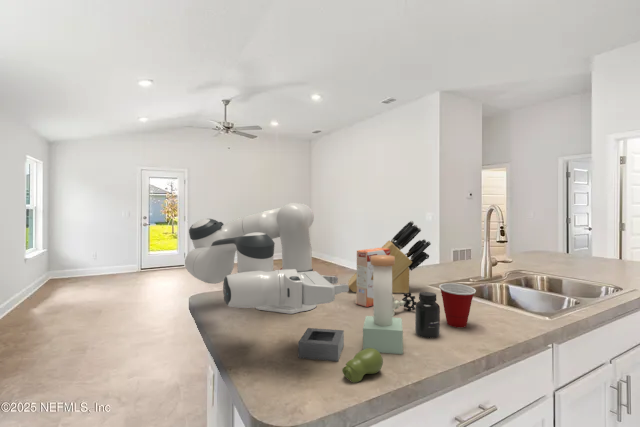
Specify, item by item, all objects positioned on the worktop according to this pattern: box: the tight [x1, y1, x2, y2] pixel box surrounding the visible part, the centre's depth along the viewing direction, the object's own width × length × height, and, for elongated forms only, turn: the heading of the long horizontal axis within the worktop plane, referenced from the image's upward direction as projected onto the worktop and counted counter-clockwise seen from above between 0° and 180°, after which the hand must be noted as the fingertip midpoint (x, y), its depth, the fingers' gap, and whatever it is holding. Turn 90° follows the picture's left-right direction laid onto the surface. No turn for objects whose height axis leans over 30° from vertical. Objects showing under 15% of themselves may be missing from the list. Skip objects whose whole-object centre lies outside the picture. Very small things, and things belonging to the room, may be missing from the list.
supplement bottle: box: [414, 291, 441, 339], centre depth 99 cm, size 7×7×12 cm
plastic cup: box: [438, 282, 477, 329], centre depth 107 cm, size 11×11×12 cm
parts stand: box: [362, 315, 404, 355], centre depth 92 cm, size 10×10×6 cm
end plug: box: [371, 255, 395, 326], centre depth 92 cm, size 6×6×18 cm
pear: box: [342, 348, 384, 383], centre depth 76 cm, size 6×5×10 cm
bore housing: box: [297, 327, 345, 362], centre depth 89 cm, size 10×10×4 cm
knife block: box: [347, 220, 432, 294], centre depth 150 cm, size 11×35×31 cm, turn 85°
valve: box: [392, 292, 418, 317], centre depth 119 cm, size 7×7×12 cm
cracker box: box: [356, 247, 390, 308], centre depth 132 cm, size 14×6×21 cm, turn 131°
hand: (342, 283), depth 89 cm, fingers open, 8 cm apart
